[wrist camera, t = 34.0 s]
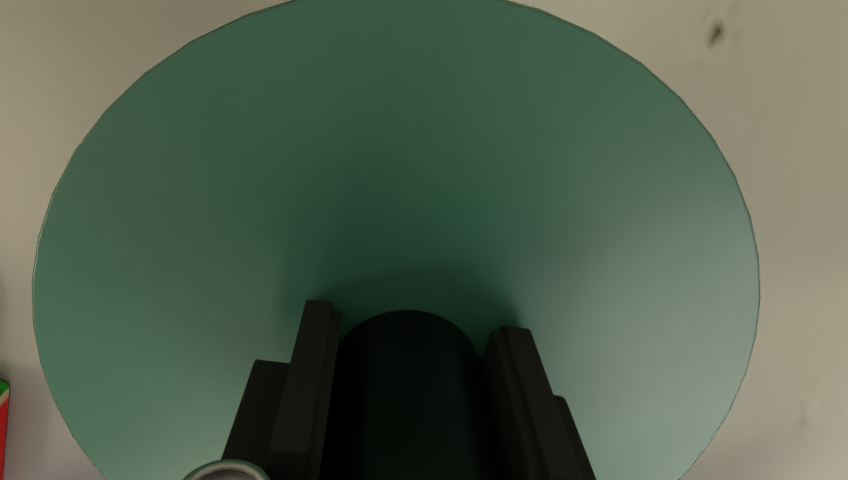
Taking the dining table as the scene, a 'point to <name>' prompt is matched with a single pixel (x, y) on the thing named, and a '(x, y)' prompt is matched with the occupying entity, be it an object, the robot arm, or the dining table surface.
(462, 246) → the lid
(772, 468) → the dining table surface
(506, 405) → the robot arm
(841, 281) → the dining table surface
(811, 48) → the dining table surface
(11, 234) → the dining table surface
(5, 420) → the popsicle
